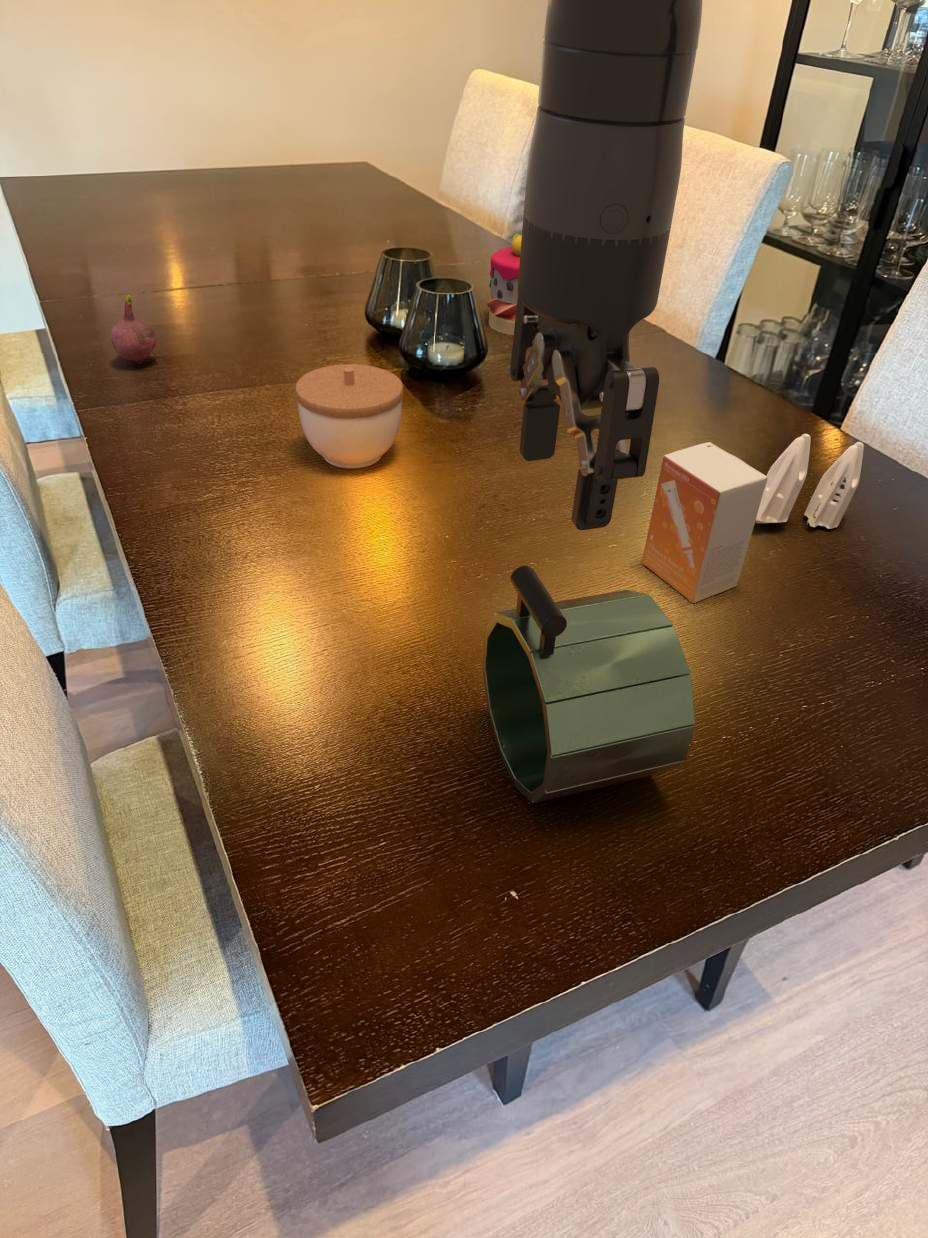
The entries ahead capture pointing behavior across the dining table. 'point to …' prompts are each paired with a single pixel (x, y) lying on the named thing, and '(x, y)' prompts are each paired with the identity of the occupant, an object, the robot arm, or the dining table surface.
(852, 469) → the shaker set
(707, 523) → the small box
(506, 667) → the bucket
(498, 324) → the cake
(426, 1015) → the dining table surface
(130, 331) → the vegetable
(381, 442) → the lidded bowl
